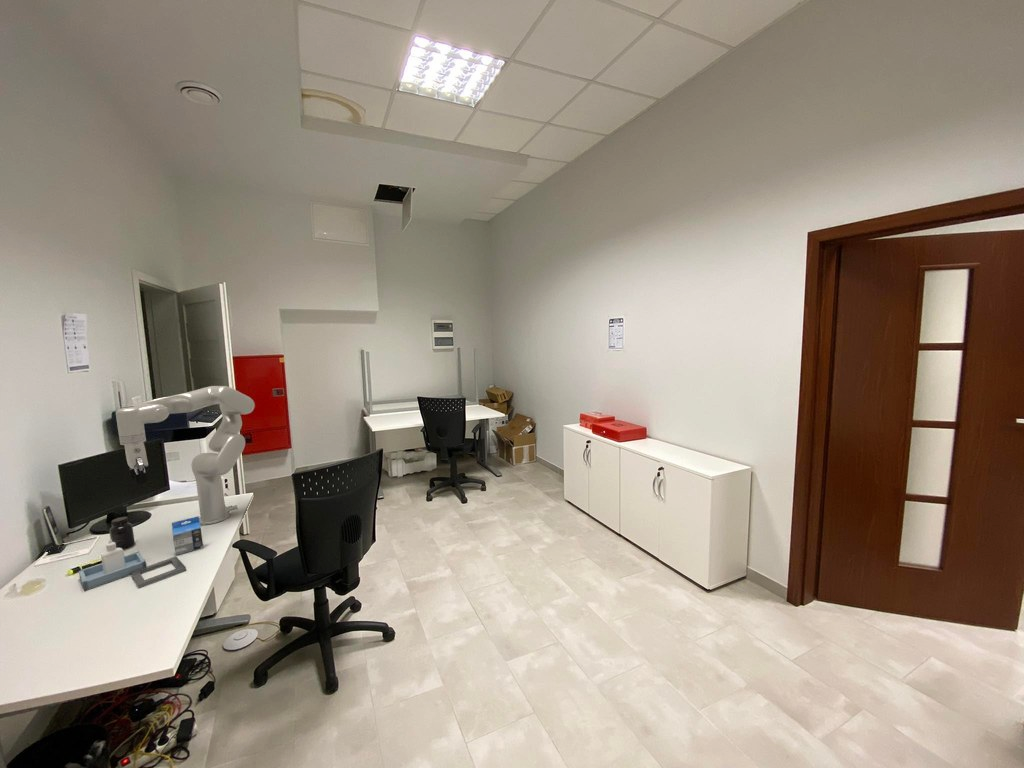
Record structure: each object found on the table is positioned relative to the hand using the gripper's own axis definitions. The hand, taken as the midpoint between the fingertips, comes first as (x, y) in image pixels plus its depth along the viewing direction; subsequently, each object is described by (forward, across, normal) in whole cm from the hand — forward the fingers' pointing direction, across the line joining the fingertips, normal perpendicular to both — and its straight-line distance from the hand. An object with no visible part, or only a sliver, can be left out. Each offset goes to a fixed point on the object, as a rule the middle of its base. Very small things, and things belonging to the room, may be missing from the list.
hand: (139, 480), depth 162 cm
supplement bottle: (+28, +10, +6) cm, 31 cm away
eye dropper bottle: (+28, -14, +12) cm, 33 cm away
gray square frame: (+28, -27, +2) cm, 39 cm away
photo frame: (+29, +25, +20) cm, 43 cm away
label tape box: (+28, -16, -10) cm, 34 cm away
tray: (+28, -14, +12) cm, 34 cm away
